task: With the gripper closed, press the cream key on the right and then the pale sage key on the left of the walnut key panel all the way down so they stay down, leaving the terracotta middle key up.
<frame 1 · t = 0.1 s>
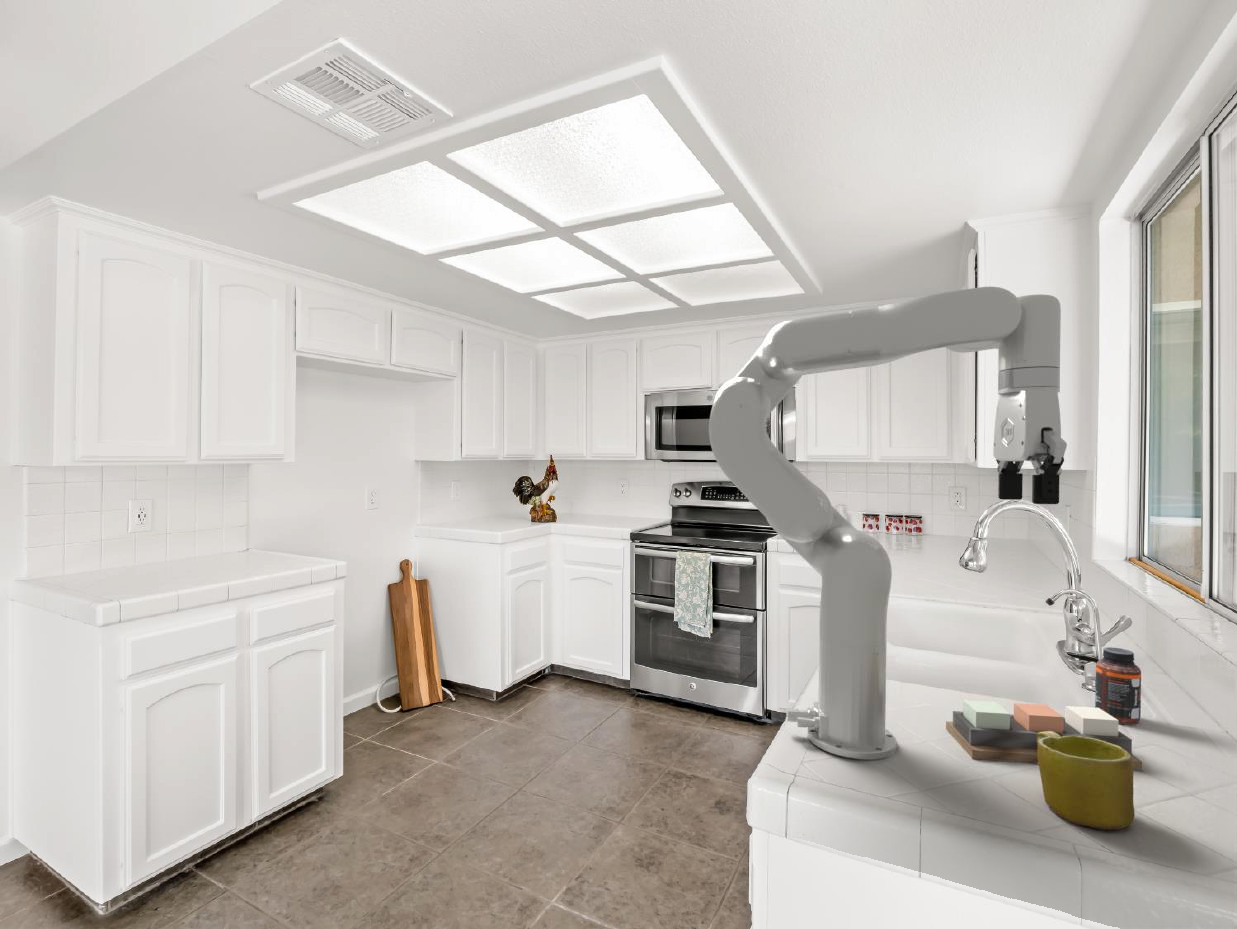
hand: (1026, 501, 92), 37 cm above the counter, fingers open, 9 cm apart
supplement bottle: (1117, 719, 105), on the counter
key panel: (1037, 748, 94), on the counter
key cream: (1091, 721, 93), point 4 cm above the counter, slide at 0.0 cm
key terracotta: (1037, 718, 94), point 4 cm above the counter, slide at 0.0 cm
key sage: (985, 714, 95), point 4 cm above the counter, slide at 0.0 cm
mug: (1075, 807, 78), on the counter
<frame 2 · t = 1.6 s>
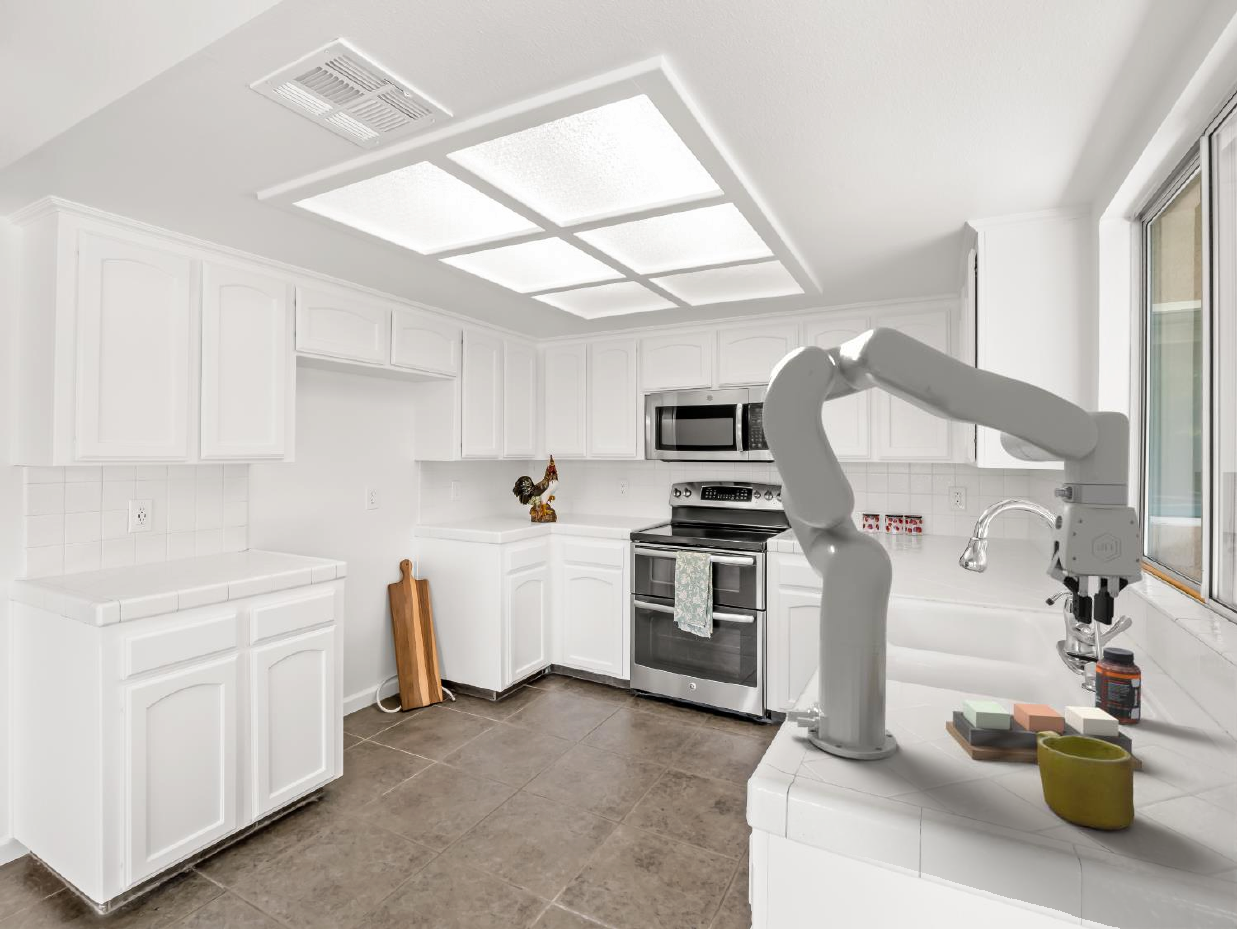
hand: (1092, 621, 93), 19 cm above the counter, fingers closed
nothing on the counter moved.
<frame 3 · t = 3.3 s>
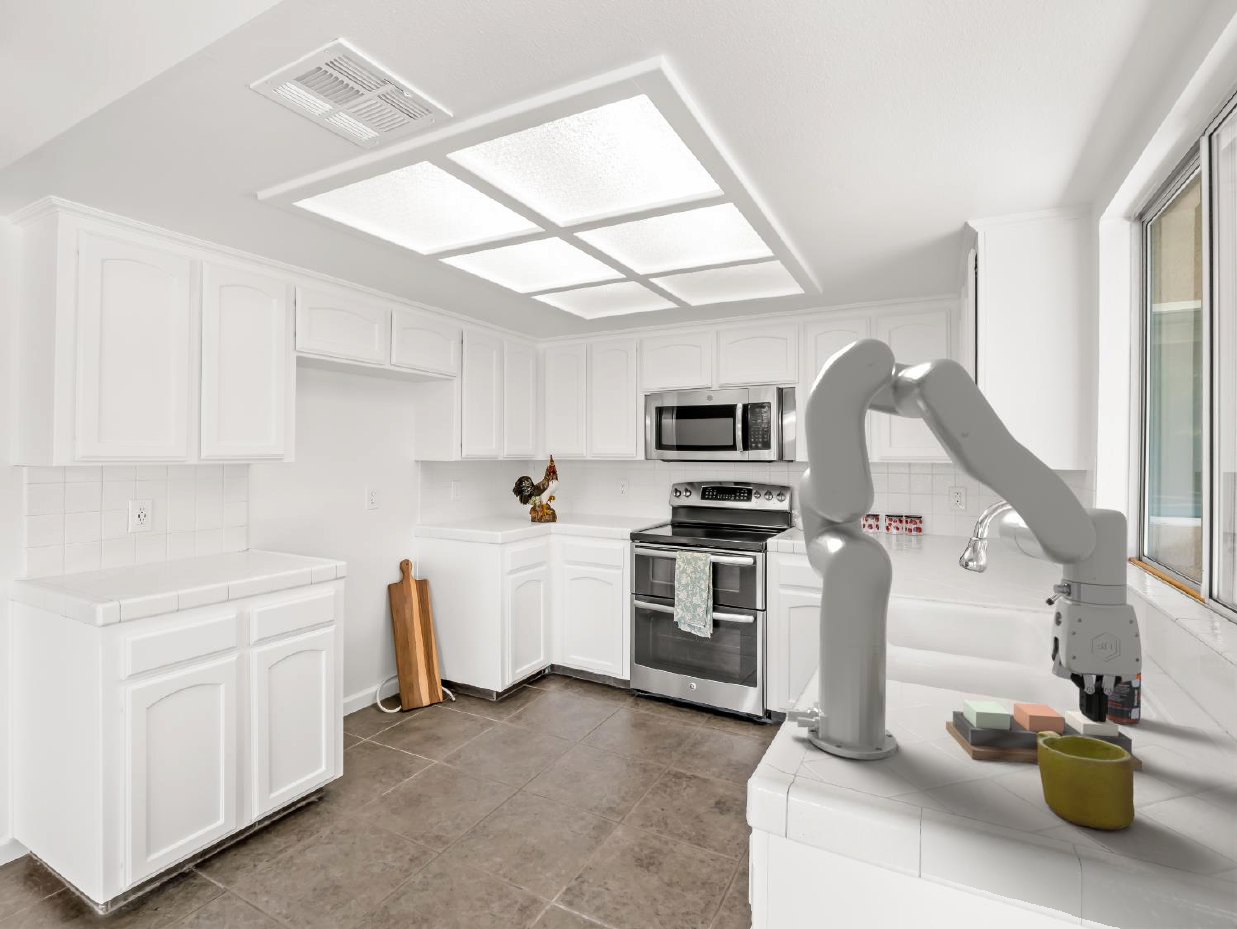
hand: (1093, 718, 93), 5 cm above the counter, fingers closed
key cream: (1090, 726, 93), point 4 cm above the counter, slide at 0.8 cm, touching gripper
everything else where it was.
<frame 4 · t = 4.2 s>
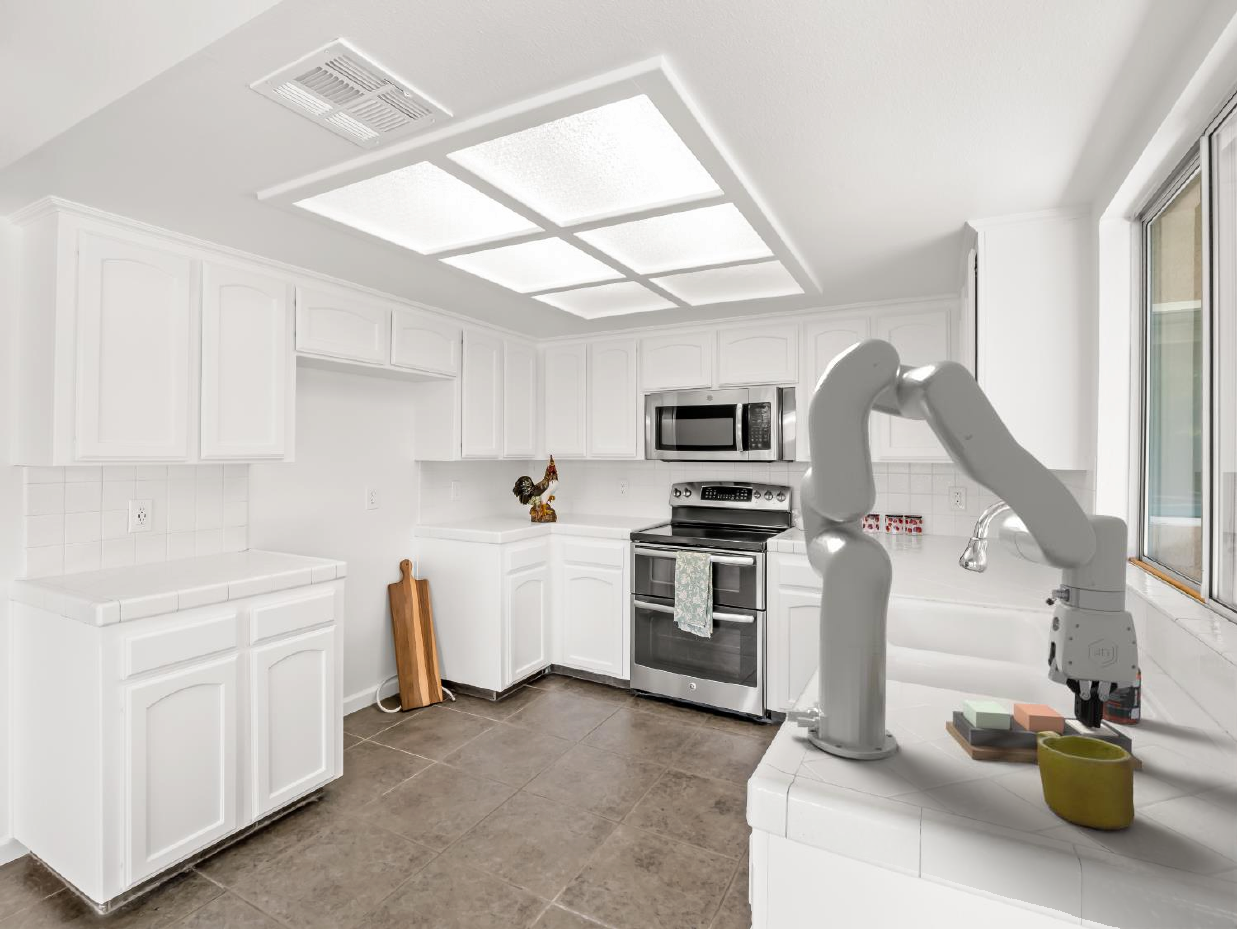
hand: (1088, 723, 93), 4 cm above the counter, fingers closed
key cream: (1090, 735, 93), point 2 cm above the counter, slide at 2.1 cm
everything else where it was.
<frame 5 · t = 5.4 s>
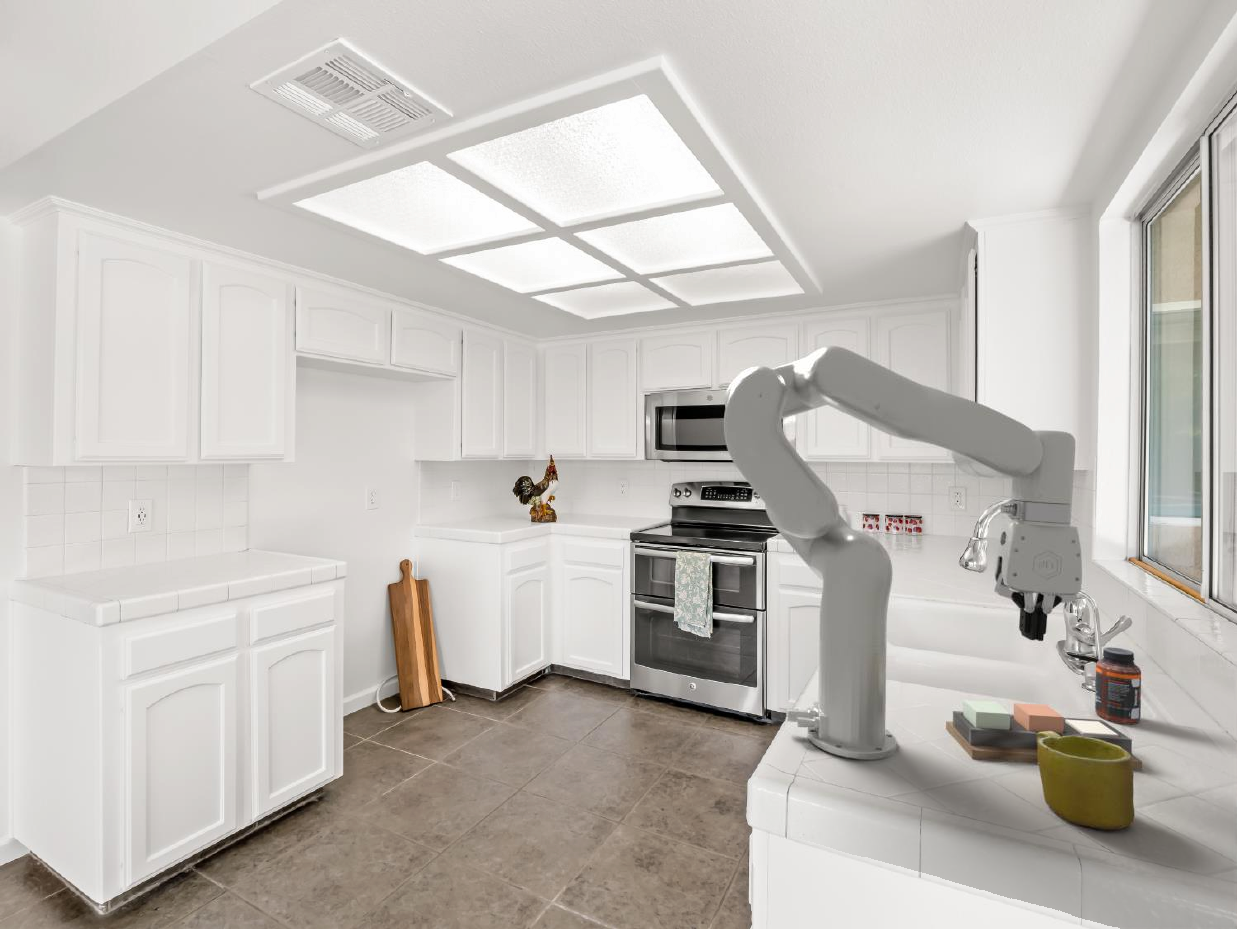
hand: (1031, 637, 94), 16 cm above the counter, fingers closed
nothing on the counter moved.
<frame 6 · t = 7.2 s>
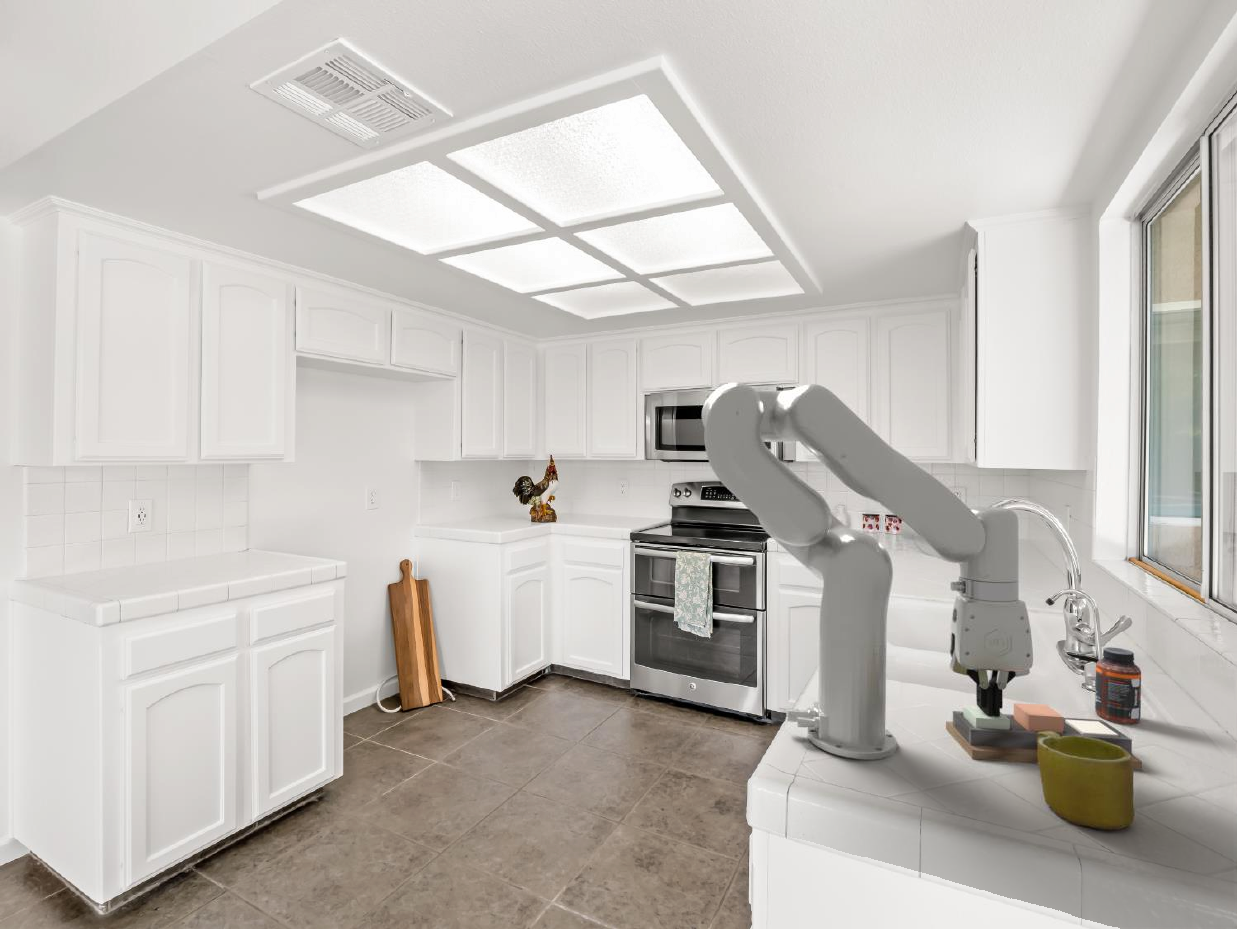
hand: (989, 712, 95), 5 cm above the counter, fingers closed
key sage: (985, 720, 95), point 4 cm above the counter, slide at 0.9 cm, touching gripper
everything else where it was.
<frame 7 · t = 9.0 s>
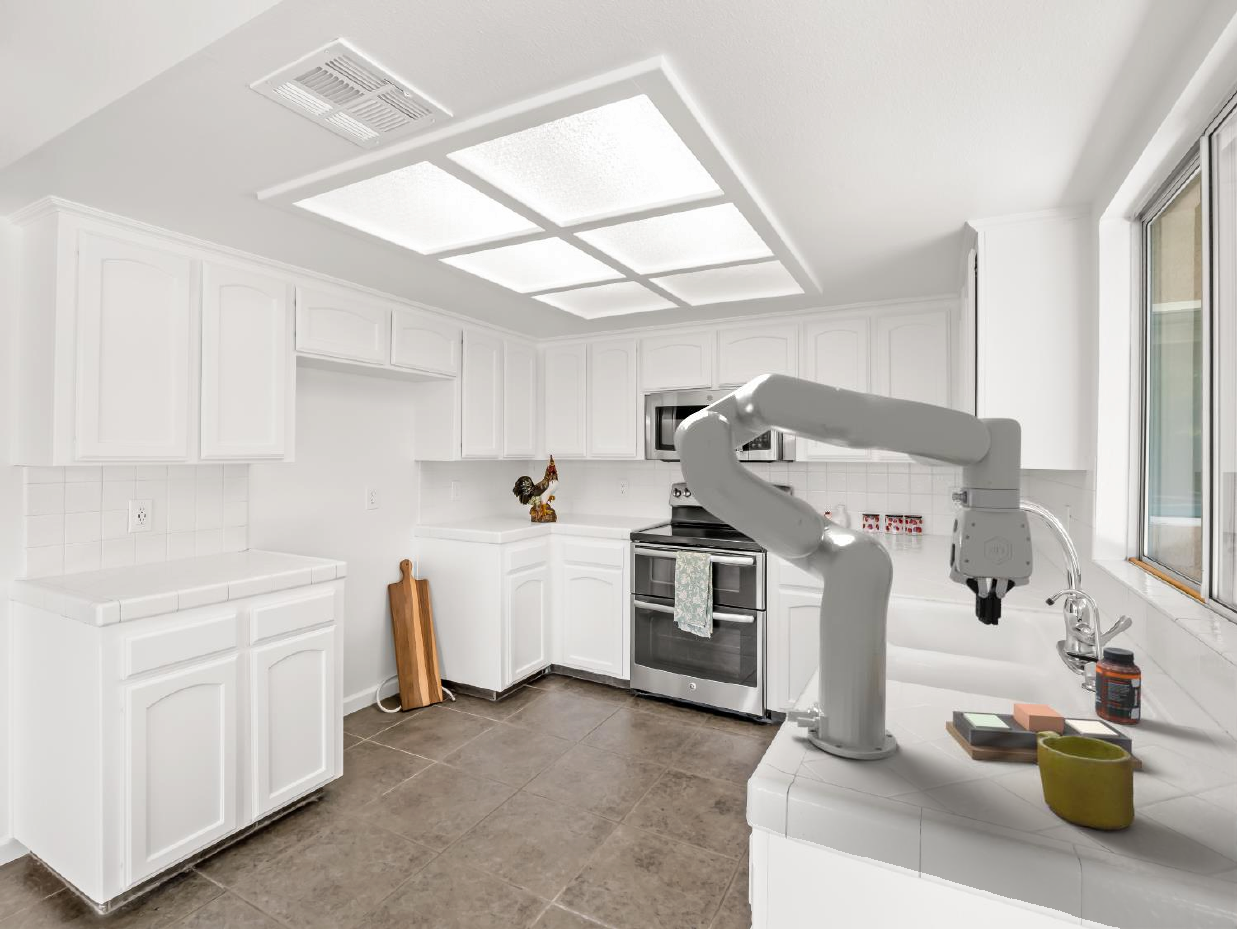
hand: (987, 622, 95), 18 cm above the counter, fingers closed
key sage: (985, 728, 95), point 2 cm above the counter, slide at 2.0 cm
everything else where it was.
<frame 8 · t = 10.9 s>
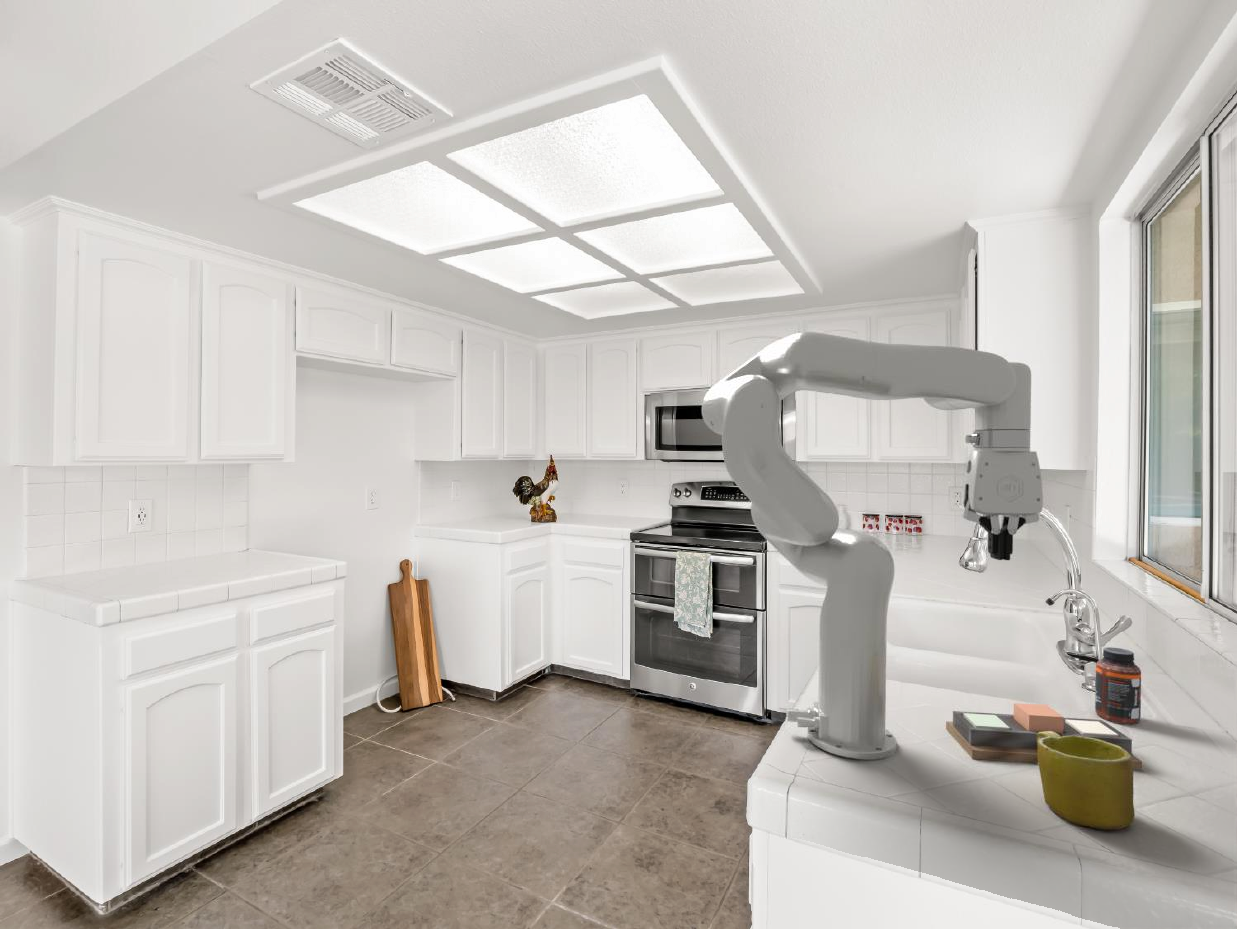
hand: (1000, 558, 100), 27 cm above the counter, fingers closed
nothing on the counter moved.
at the end: key cream slide at 2.1 cm; key sage slide at 2.0 cm; key terracotta slide at 0.0 cm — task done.
